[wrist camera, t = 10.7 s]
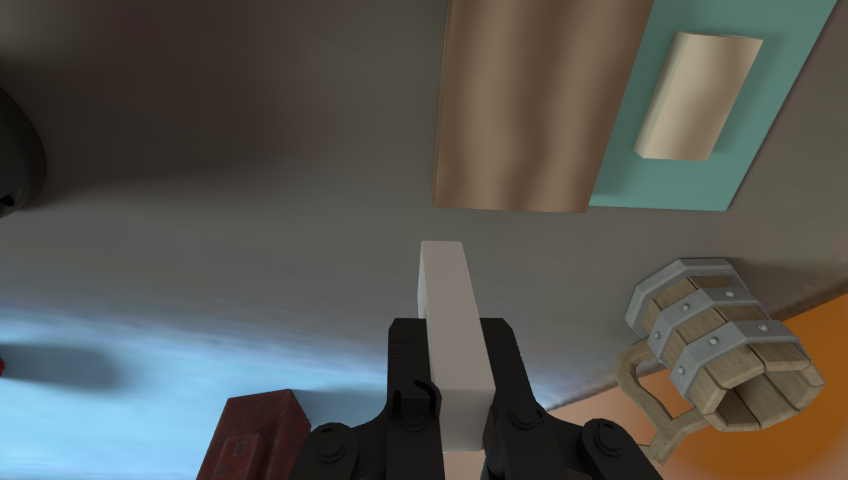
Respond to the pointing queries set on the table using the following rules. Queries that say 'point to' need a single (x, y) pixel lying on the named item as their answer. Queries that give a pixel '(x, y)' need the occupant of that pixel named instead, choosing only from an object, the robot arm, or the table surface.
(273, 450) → the toy vending machine
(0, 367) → the plastic cup
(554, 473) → the robot arm
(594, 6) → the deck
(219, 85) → the table surface
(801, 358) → the tankard
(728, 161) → the mat
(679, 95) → the tile
